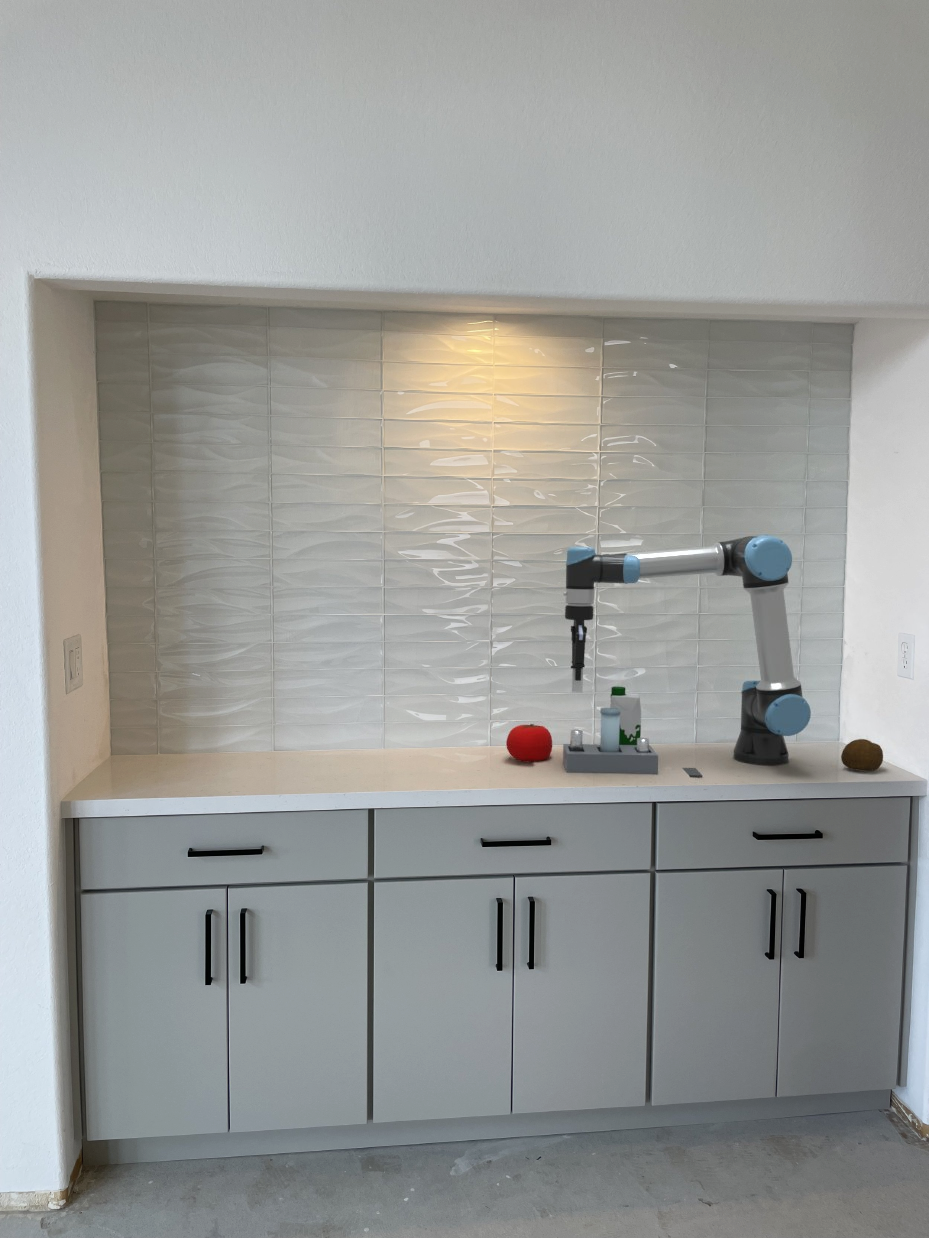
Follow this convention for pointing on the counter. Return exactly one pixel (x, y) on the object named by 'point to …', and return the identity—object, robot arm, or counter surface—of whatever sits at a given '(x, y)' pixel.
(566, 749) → the housing
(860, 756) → the potato
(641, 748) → the plunger
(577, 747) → the plunger
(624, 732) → the milk carton
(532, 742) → the tomato
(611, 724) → the cartridge
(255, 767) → the counter surface
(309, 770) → the counter surface
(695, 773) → the mat
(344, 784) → the counter surface
